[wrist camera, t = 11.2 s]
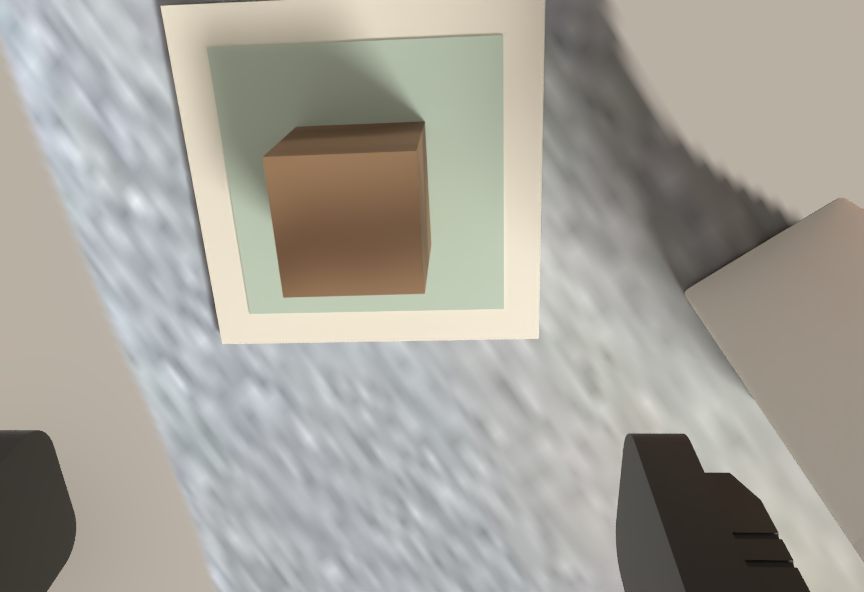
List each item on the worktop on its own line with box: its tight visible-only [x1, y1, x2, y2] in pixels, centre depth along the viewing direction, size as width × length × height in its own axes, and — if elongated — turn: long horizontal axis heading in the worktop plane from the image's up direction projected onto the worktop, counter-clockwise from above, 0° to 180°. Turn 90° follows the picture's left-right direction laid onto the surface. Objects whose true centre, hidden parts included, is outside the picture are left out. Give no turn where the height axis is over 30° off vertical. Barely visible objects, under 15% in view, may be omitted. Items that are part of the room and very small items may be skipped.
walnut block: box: [263, 121, 431, 298], centre depth 26 cm, size 5×5×5 cm
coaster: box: [161, 0, 545, 344], centre depth 29 cm, size 14×14×1 cm
